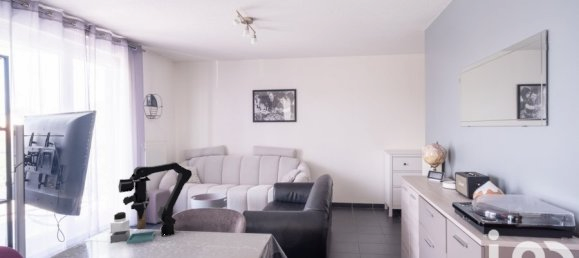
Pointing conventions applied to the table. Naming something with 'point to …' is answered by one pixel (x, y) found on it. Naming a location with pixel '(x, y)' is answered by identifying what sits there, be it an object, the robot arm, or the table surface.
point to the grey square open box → (120, 236)
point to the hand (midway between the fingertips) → (141, 218)
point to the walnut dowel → (141, 222)
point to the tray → (141, 237)
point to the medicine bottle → (119, 222)
